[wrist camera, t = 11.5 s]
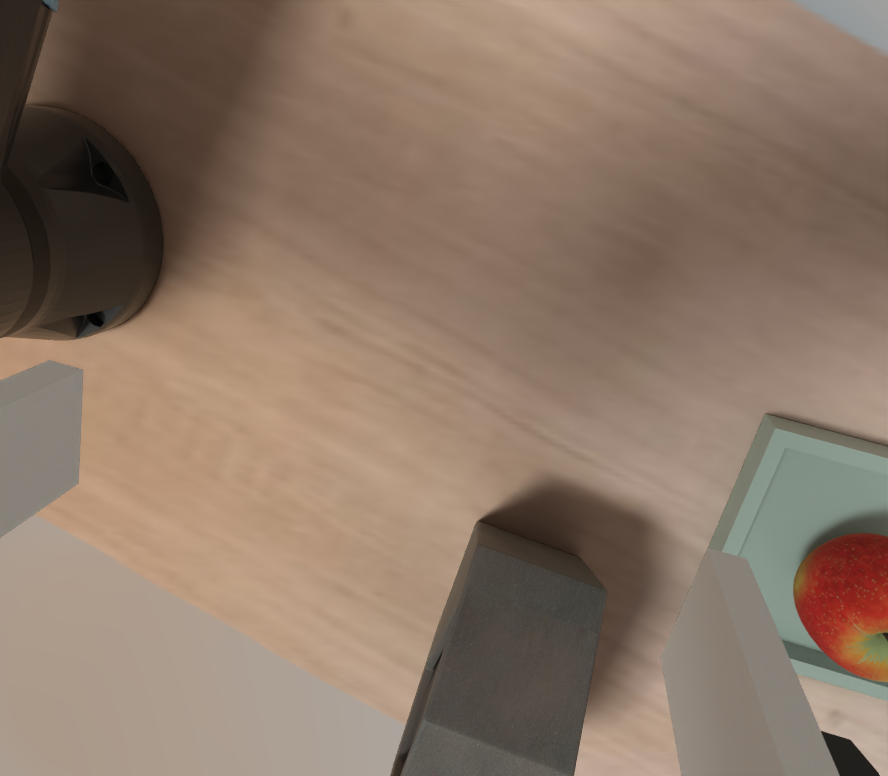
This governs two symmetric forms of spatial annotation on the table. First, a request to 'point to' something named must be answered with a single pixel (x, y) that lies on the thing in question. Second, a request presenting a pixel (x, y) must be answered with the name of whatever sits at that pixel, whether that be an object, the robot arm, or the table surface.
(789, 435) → the dish
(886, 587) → the apple
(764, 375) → the table surface
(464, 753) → the grey hexagonal block
